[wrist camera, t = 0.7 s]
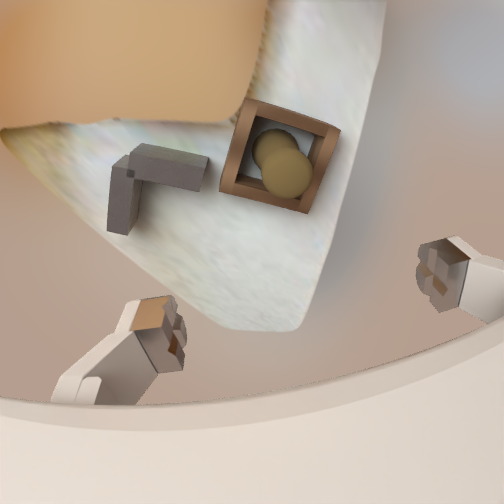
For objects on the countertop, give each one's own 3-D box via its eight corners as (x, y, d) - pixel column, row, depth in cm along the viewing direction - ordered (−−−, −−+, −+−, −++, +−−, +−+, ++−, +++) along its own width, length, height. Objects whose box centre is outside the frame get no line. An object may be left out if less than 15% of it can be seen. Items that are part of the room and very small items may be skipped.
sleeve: (244, 96, 34) (245, 98, 30) (331, 124, 36) (341, 130, 33) (220, 180, 39) (218, 191, 36) (301, 201, 42) (307, 214, 38)
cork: (288, 179, 40) (305, 215, 31) (245, 165, 38) (249, 197, 29) (305, 138, 37) (330, 161, 28) (261, 122, 35) (271, 139, 26)
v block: (92, 180, 38) (77, 193, 34) (182, 116, 34) (175, 122, 30) (126, 225, 42) (116, 242, 38) (216, 170, 39) (214, 183, 34)
